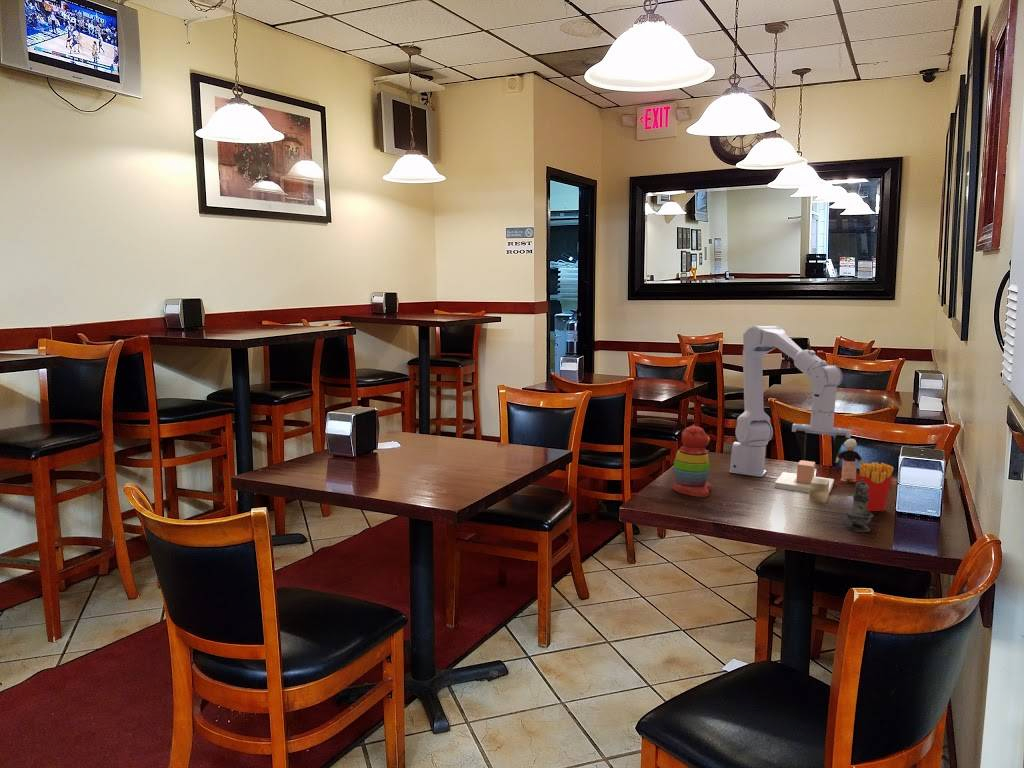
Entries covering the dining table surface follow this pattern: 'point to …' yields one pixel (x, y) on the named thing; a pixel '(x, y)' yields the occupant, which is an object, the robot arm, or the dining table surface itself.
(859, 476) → the french fries
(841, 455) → the grandmother figurine
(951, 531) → the dining table surface
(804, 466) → the terracotta brick
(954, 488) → the dining table surface
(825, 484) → the birch brick
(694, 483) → the stacking bear
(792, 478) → the tower plate
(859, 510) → the grey stone statuette
